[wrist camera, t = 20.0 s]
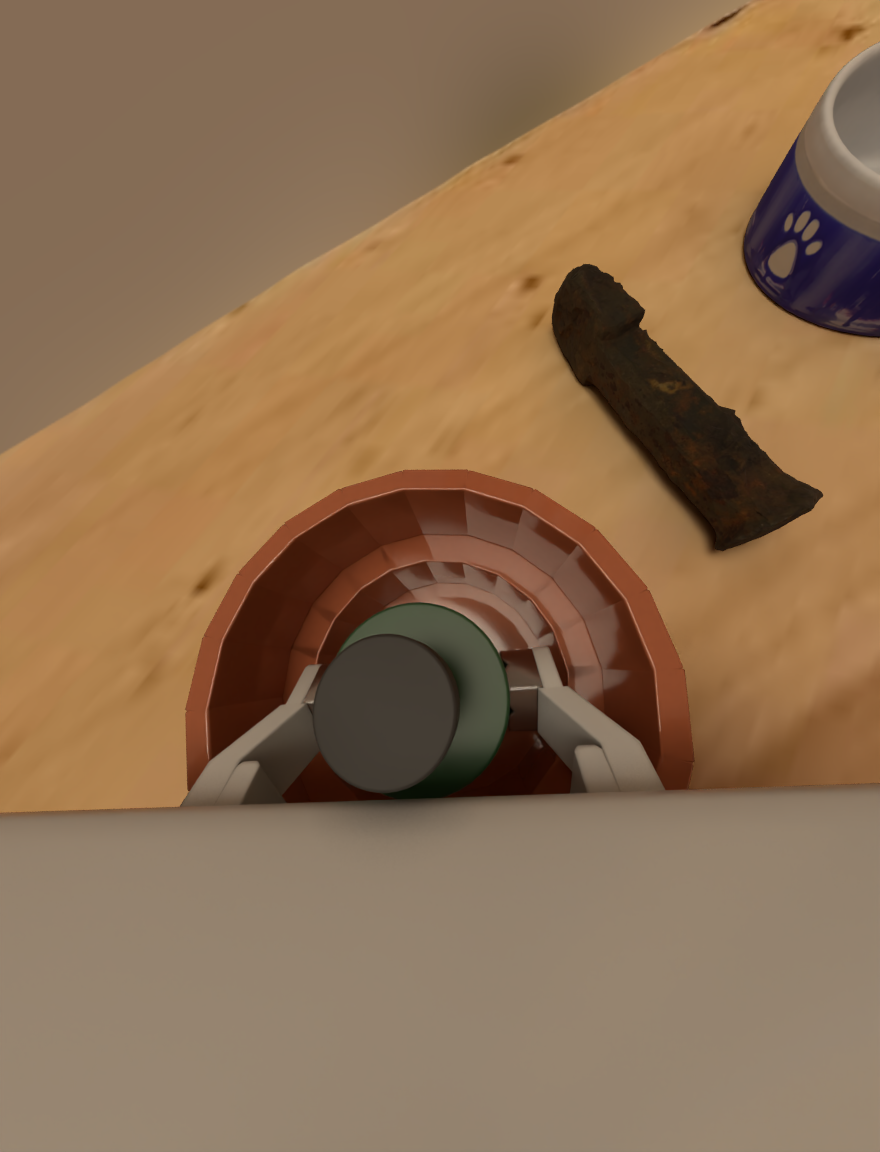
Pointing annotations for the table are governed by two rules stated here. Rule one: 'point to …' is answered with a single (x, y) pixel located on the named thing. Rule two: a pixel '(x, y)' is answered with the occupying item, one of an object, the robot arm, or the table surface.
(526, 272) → the table surface
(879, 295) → the dog bowl
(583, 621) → the pot
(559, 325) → the dark brown rough bar
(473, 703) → the plant food bottle
